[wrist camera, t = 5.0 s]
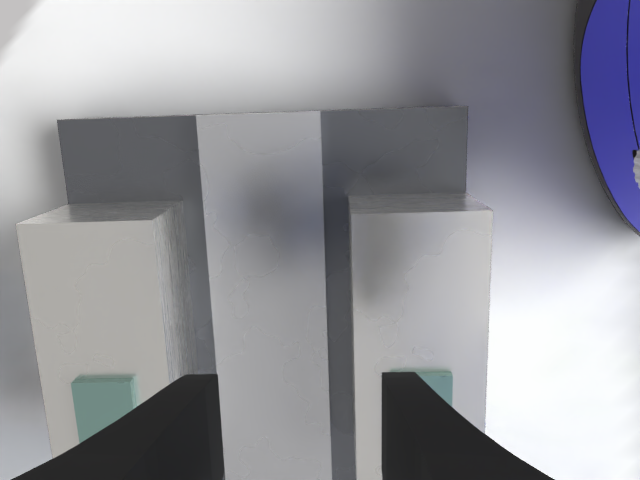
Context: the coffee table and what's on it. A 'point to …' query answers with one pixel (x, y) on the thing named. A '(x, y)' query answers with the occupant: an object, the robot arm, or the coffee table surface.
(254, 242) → the rail plate
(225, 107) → the coffee table surface
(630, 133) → the leaning round-cornered charcoal block
